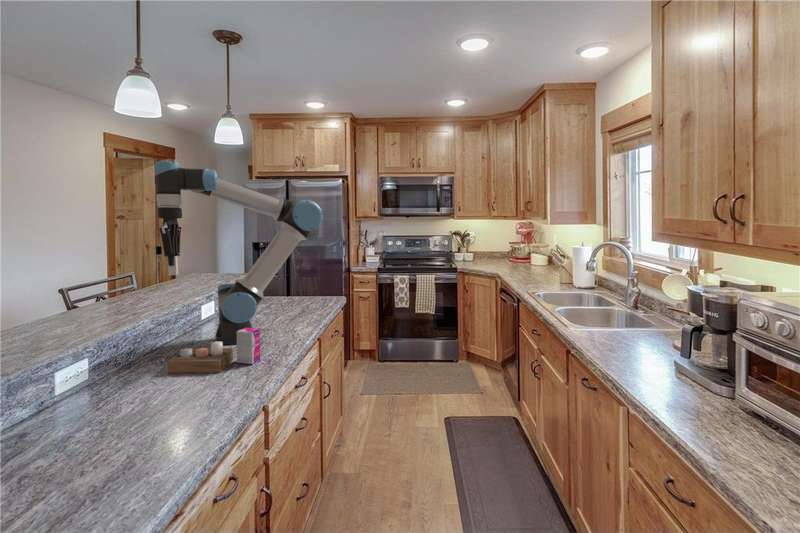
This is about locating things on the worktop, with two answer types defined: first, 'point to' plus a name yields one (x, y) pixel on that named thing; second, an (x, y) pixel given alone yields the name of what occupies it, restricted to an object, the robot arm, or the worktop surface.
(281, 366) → the worktop surface
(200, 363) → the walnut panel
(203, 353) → the brown egg
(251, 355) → the supplement box
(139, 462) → the worktop surface
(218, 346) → the white egg
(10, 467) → the worktop surface
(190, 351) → the pale blue egg
